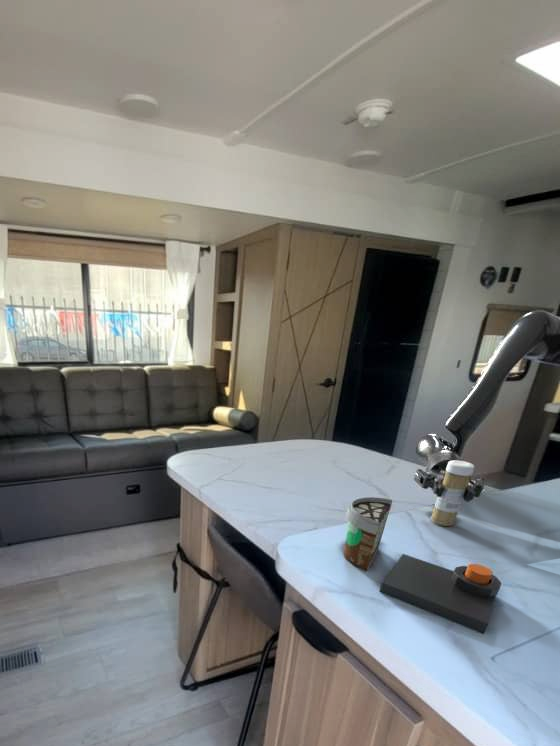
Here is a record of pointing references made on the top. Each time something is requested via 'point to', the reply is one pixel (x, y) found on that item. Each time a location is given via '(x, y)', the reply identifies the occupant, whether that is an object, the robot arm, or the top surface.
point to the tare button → (478, 573)
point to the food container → (365, 529)
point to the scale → (442, 591)
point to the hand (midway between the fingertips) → (454, 494)
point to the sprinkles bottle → (452, 492)
